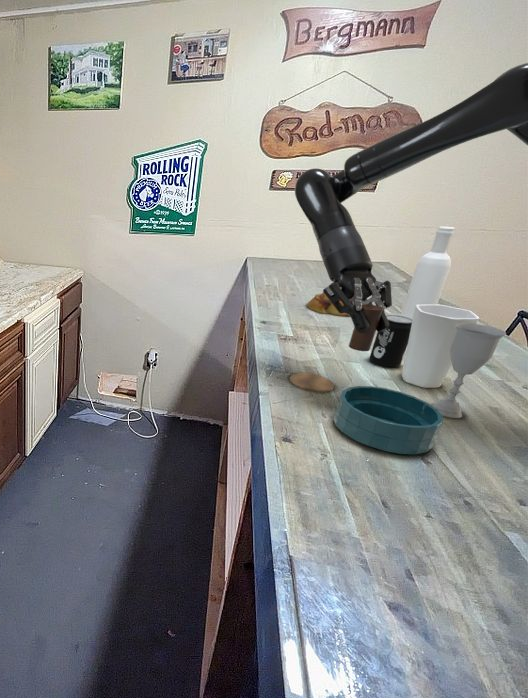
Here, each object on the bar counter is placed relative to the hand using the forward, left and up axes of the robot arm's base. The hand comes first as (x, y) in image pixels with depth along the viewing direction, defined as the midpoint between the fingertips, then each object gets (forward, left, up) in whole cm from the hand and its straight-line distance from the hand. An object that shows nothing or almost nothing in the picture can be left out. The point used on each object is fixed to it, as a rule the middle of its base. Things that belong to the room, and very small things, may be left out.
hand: (373, 330), depth 88 cm
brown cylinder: (+1, -2, -4) cm, 5 cm away
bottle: (-29, -64, -17) cm, 73 cm away
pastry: (-9, -76, -17) cm, 78 cm away
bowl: (-3, +9, -17) cm, 20 cm away
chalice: (-18, -5, -17) cm, 26 cm away
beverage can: (-13, -29, -17) cm, 37 cm away
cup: (-18, -20, -17) cm, 32 cm away
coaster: (+6, -10, -17) cm, 21 cm away
